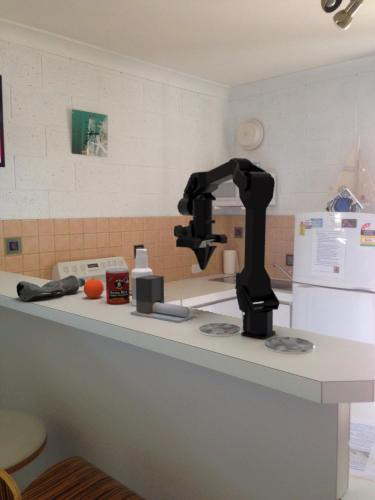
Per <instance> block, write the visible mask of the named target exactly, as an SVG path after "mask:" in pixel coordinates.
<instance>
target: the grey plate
mask: <svg viewBox="0 0 375 500" xmlns="http://www.w3.org/2000/svg"><path fill="white" fill-rule="evenodd" d="M190 312H191V311H190V308H189V307H188V306H183V305H182V306H181V305H176V304H171V303H170V304H169V303H165V302H164V303H159V302H152V313H144V312H138V311H136V310H133V311H130V314H131V315H134V316H140V317H144V318H145V317H146V318H150V319H155V320H162V321H166V322H172V323H178V324H180V322H181V323H183V322H185V321H189V320H191V319H194V318H197V315H196V314H192V313H190Z"/></svg>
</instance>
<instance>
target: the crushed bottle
mask: <svg viewBox="0 0 375 500" xmlns="http://www.w3.org/2000/svg"><path fill="white" fill-rule="evenodd" d="M85 283H86V280H85V279H84V278H78V277H77V276H75V275H72V274H71V275H68V276H66V277H64V278H62V279H59V280H52V281H48V282H46V283H45V284H44V285H42V286H41V287H40V285H38V284H36V283H32V282H29V281H24V280H23V281H22V280H21V281H19V282H18V283H17V284H16V294H17V296H18V297H19V299H20V300H21V301H23V302H28V301H29V300H31V299H32V298H33V297H36V296H38V295H41V294H50V295H55V294H56V295H57V294H58V293H60V294H61V293H63V294H76V293H77V292H79V290H80V288H82V287H84V284H85Z"/></svg>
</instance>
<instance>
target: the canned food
mask: <svg viewBox="0 0 375 500" xmlns="http://www.w3.org/2000/svg"><path fill="white" fill-rule="evenodd" d="M105 291H106V292H105V293H106V296H105V297H106V298H105V300H106V302H107V304H108V305H114V306H116V305H117V306H118V305H120V306H121V305H125V304H126V305H127V304H128V303H130V300H131V299H130V297H131V296H130V294H131V293H130V269H129V268H126V267H125V268H124V267H113V268H107V269H105Z"/></svg>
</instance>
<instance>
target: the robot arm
mask: <svg viewBox="0 0 375 500" xmlns="http://www.w3.org/2000/svg"><path fill="white" fill-rule="evenodd" d="M231 180H232V182H233V183H232V184H234V185H235V186H236V187H237V188H238V194H239V195H238V196H239V201H241V202H242V204H243V207H244V209H245V222H244V223H245V225H244V257H243V259H244V262H243V263H244V264H243V268H242V270H241V271H240V272H236V275H235V287H234V289H235V290H236V291H235V293H236V294H235V295H236V299H237V304H238V308H239V311H241V312H242V313H244V314H242V332H241V336H245V337H250V338H255V339H262V340H266V339H267V338H270V337H272V336H273V335H275V334H276V333H277V331H276V330H274V322H273V321H274V310H276V311H277V310H279V308H280V307H279V306H280V300H279V298H278V297H277V294H276V293H275V292H274V290H273V289H272V280H271V277H270V275H269V273H268V271H267V269H266V268H265V267H266V266H265V265H266V264H265V263H266V234H267V233H266V232H267V231H266V228H267V225H266V224H267V209H268V208H269V205H270V203H271V202H272V200H273V199H274V198H273V197H274V191H275V178H274V176H272V174H271V173H270V172H267V171H266V170H265V169H264V168H262V167H260V166H258V165H256V164H254V163H253V162H252V161H251V160H250V159H248V158H245V157H233V158H231V159H229V160H228V161H227V162H224V163H223V164H220V165H218V166H216V167H214V168H212V169H210V170H207V171H195V172H192V173H191V174H190V176H189V178H188V179H187V182H186V186H185V188H184V190H183V194H182V197H181V198H180V199H179V201H178V203H177V211H178V213H179V214H180V215H181V216H185V217H192V219H189V221H188V225H187V226H186V225H185V226H182V225H181V224H177V225H175V226H173V236H174V237H176V239H175V247H176V248H187V249H188V250H189V249H190V250H191V251H192V252H193V253H194V254H195V257H196V260H197V263H198V266H199V269H200V271H205V269H206V268H207V266H208V264H209V261H210V259H211V258H212V255H213V253H214V252H215V250H216V249H217V248H218V245H214V243H216V244H222V245H224V244H228V236H227V235H226V234H225V233H213V224H216V219H213V201H216V200H217V198H216V196H215V195H213V193H214V192H216V190H218V189H219V186H220V185H221V184H223V183H226V182H228V181H231Z"/></svg>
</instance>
